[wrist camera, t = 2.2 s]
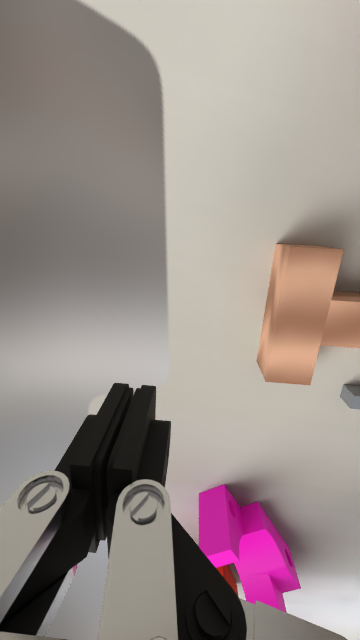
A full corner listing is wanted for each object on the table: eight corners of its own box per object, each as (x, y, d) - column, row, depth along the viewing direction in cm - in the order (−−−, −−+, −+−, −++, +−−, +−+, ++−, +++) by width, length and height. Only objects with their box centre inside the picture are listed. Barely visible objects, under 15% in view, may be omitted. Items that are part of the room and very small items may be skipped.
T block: (275, 243, 24) (290, 246, 20) (412, 251, 23) (453, 255, 20) (256, 361, 28) (265, 381, 24) (372, 369, 27) (400, 392, 24)
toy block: (289, 547, 37) (310, 621, 30) (248, 558, 39) (260, 632, 32) (241, 476, 34) (252, 542, 26) (198, 491, 35) (198, 558, 28)
